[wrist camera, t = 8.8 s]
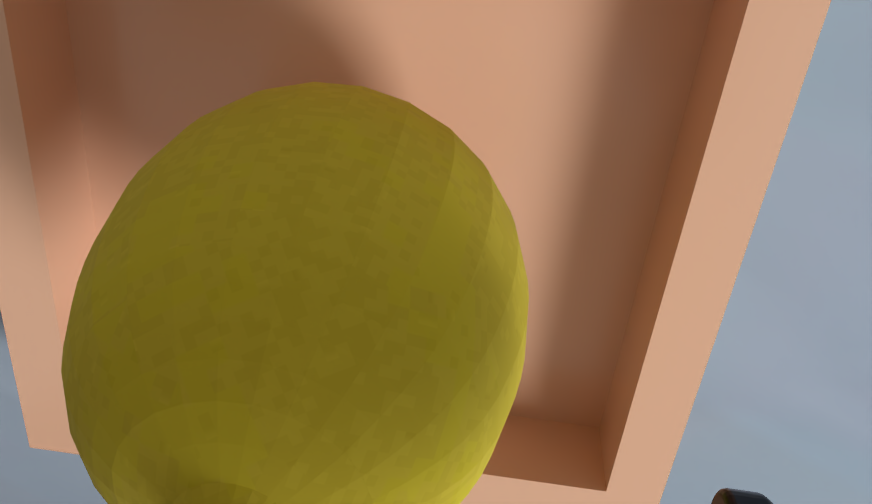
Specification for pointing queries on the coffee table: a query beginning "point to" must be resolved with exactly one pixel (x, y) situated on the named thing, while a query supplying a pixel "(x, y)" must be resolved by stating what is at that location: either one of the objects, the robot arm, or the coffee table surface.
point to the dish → (487, 138)
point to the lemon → (299, 311)
